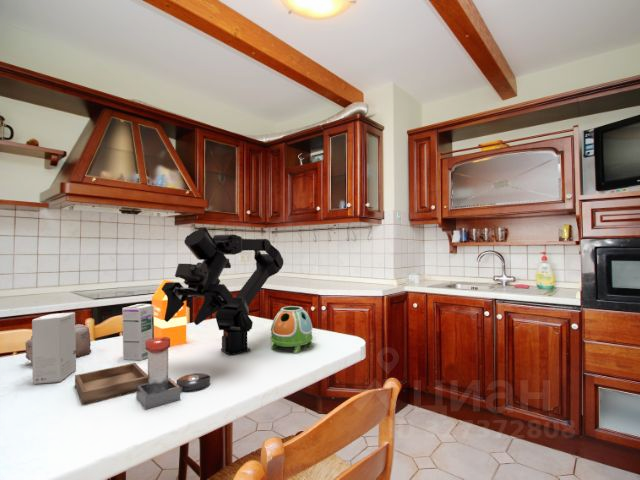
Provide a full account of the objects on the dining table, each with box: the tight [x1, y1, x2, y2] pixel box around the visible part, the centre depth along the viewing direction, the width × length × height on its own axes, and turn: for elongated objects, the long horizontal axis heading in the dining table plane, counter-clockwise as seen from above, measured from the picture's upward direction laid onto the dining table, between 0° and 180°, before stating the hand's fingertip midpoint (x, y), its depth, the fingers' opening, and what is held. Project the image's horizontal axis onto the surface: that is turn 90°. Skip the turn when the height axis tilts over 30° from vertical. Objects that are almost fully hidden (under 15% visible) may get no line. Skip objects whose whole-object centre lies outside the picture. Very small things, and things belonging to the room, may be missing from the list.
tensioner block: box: [135, 372, 211, 410], centre depth 75 cm, size 15×9×2 cm, turn 131°
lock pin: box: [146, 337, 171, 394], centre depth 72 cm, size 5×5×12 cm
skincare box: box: [31, 312, 77, 385], centre depth 84 cm, size 8×6×15 cm
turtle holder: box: [270, 305, 314, 354], centre depth 110 cm, size 12×18×12 cm
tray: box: [74, 362, 148, 406], centre depth 78 cm, size 12×12×2 cm
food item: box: [25, 324, 92, 363], centre depth 98 cm, size 14×8×10 cm, turn 155°
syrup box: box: [121, 303, 154, 361], centre depth 99 cm, size 6×6×14 cm
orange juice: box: [151, 279, 187, 348], centre depth 113 cm, size 8×9×20 cm
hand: (180, 322), depth 84 cm, fingers open, 9 cm apart
